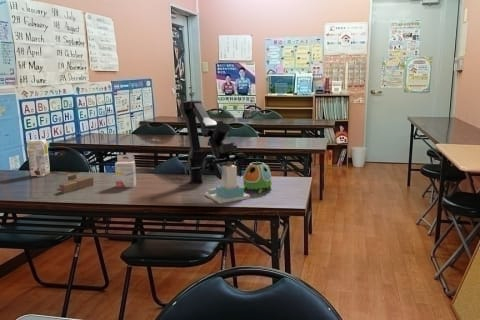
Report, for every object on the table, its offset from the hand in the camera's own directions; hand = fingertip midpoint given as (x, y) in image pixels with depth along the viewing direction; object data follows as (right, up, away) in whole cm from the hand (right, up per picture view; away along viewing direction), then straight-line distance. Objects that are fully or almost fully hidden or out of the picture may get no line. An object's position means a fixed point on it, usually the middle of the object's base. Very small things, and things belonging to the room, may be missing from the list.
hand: (231, 177), depth 179 cm
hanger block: (-1, -7, +3) cm, 8 cm away
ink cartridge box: (-50, -5, +26) cm, 56 cm away
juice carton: (-102, -1, +52) cm, 115 cm away
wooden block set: (-77, -6, +26) cm, 82 cm away
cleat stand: (-2, -8, +5) cm, 10 cm away
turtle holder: (+12, -6, +17) cm, 22 cm away
